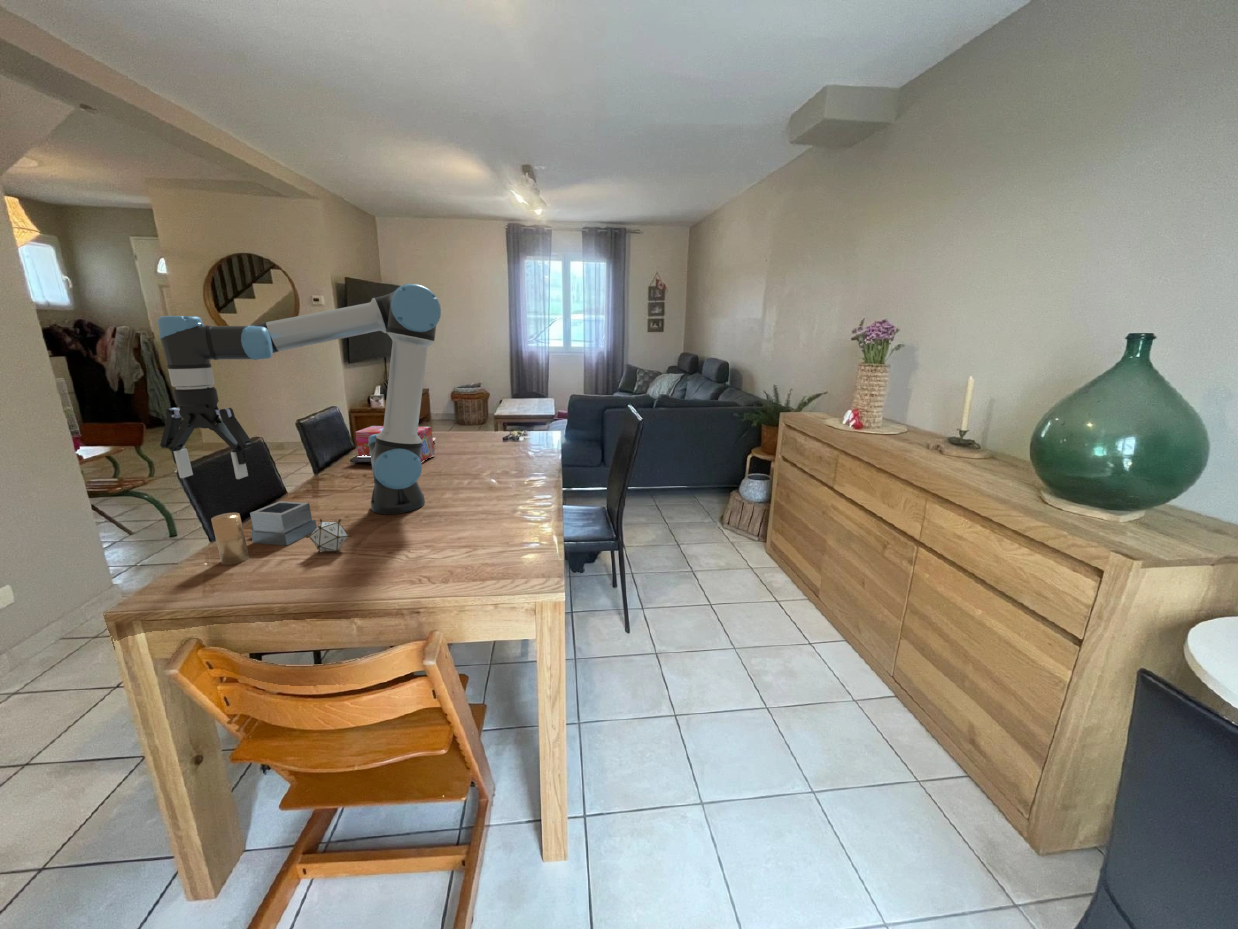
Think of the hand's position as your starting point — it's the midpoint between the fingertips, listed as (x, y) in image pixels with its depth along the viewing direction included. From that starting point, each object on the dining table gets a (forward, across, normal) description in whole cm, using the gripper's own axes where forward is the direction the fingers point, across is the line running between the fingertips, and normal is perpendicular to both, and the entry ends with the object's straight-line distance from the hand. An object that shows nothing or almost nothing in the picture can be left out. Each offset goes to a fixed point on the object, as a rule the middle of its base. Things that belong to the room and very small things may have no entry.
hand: (214, 477), depth 115 cm
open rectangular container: (+19, -6, -8) cm, 21 cm away
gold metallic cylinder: (+19, -6, +6) cm, 20 cm away
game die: (+19, -26, 0) cm, 32 cm away
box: (+19, 0, -87) cm, 89 cm away
